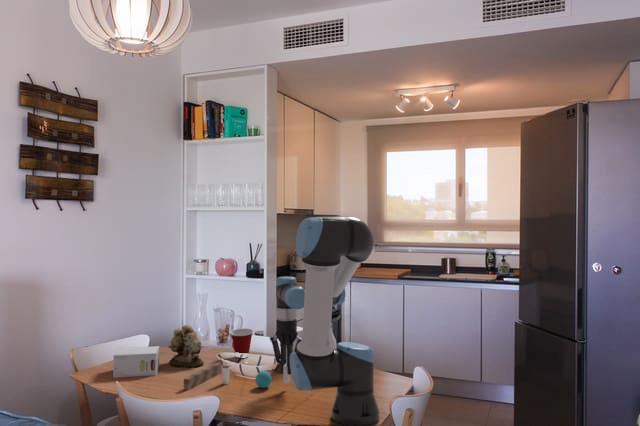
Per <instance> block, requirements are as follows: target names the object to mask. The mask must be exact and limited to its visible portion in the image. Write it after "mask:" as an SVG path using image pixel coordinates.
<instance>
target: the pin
mask: <svg viewBox="0 0 640 426" xmlns="http://www.w3.org/2000/svg"><path fill="white" fill-rule="evenodd" d="M222 384H223V385H229V384H230V361H229V360H222Z"/></svg>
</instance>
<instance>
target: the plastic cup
mask: <svg viewBox="0 0 640 426" xmlns="http://www.w3.org/2000/svg"><path fill="white" fill-rule="evenodd" d="M253 333H254V329H251V328H237V329H232V330H231V331H230V332H229V335H230V336H231V339H232V345H233V350H234V353H235V352H239V353H249V354H250V350H251V344H252V337H253Z"/></svg>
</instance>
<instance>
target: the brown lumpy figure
mask: <svg viewBox="0 0 640 426" xmlns="http://www.w3.org/2000/svg"><path fill="white" fill-rule="evenodd" d="M197 335H198V333H197V332H196V331H195V330H194V328H193V326H191V325H189V324H185V325H183V326H182V328H179V327H178V328H175V329H174V330H173V337H172V339H171V341H170V345H168V349H171V352H173V353H177V354H176V355H174V356H173V357H172V358H171V359H170V360H169V363H168V364H169V365H170V366H172V367H174V368H178V369H179V368H180V369H193V368H199V367H200V368H201V367H202V366H204V363H205V362H204V360H202V359H201V358H199V357H200V353H201V350H202V341H201V340H200V339H199V337H198V336H197Z"/></svg>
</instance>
